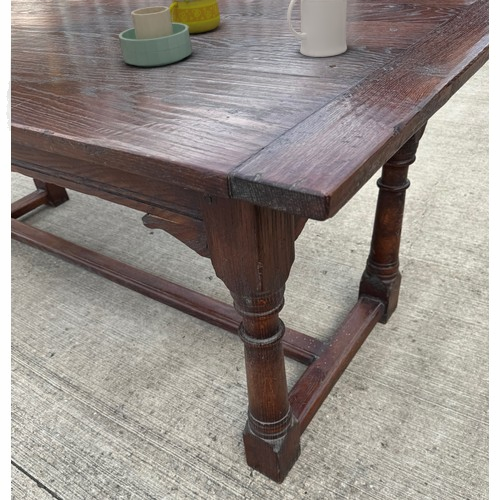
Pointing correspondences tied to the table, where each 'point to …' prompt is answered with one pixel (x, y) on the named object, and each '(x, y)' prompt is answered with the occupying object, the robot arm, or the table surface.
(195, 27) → the mug
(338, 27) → the mug
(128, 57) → the bowl
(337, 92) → the table surface
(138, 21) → the cup
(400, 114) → the table surface
